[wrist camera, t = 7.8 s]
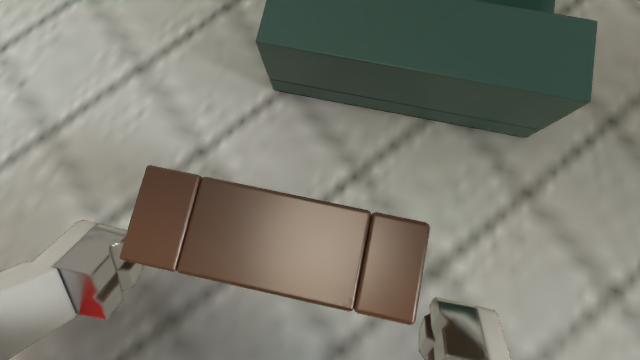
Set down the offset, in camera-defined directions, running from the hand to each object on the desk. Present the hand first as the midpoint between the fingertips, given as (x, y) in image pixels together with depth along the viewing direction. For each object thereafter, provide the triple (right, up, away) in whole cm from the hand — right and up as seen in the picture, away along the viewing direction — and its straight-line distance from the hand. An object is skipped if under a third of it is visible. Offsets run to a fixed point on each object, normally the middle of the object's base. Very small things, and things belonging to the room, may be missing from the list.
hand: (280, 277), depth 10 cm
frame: (0, 0, +6) cm, 6 cm away
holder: (+6, +11, +8) cm, 14 cm away
